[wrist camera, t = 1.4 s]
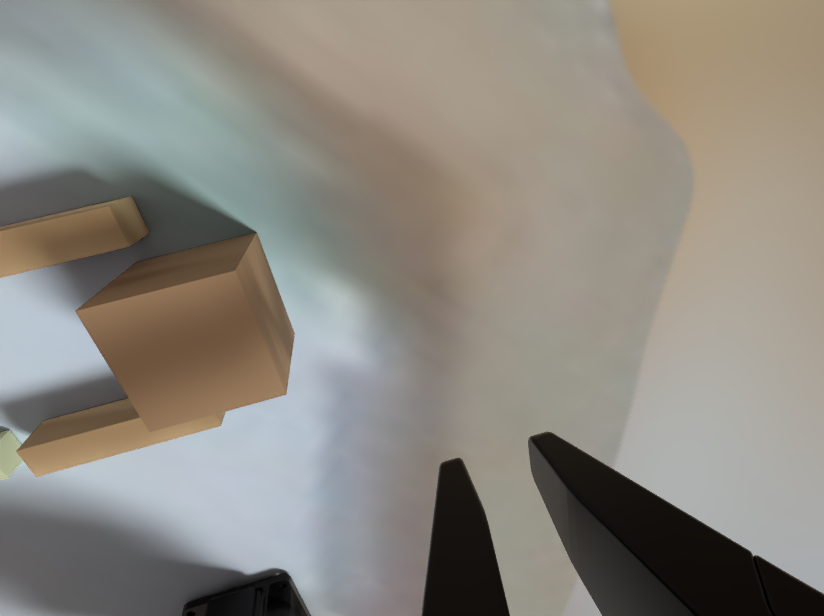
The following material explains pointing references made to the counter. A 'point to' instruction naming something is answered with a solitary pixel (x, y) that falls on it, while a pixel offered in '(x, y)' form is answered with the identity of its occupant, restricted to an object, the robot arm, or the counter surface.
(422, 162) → the counter surface
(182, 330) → the walnut block
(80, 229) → the tunnel walls
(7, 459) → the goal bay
